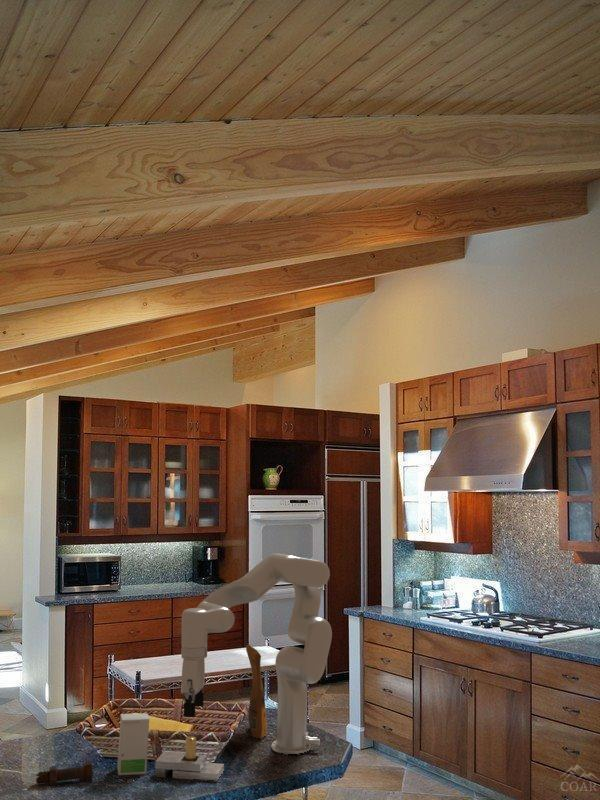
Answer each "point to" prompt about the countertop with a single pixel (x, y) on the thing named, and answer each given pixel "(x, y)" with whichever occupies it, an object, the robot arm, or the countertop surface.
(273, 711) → the countertop surface
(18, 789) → the countertop surface
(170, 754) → the grey electronic gadget
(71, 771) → the bolt
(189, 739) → the pin
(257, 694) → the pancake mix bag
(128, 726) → the skincare box
